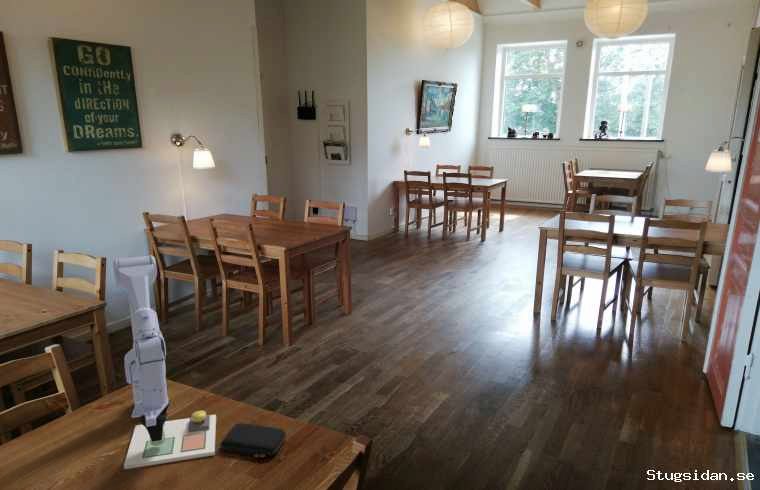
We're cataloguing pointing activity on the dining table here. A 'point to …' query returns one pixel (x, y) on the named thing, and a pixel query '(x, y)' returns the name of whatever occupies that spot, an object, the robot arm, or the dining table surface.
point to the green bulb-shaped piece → (161, 439)
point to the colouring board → (173, 443)
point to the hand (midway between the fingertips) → (158, 435)
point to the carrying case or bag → (253, 440)
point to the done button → (198, 416)
